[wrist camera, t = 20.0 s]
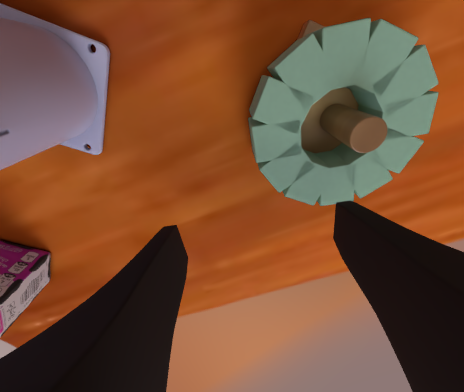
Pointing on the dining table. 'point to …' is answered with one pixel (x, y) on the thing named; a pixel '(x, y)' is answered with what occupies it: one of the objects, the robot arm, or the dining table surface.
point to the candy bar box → (20, 279)
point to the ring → (369, 100)
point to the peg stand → (339, 119)
